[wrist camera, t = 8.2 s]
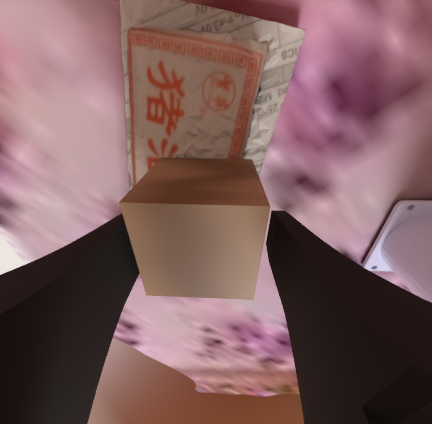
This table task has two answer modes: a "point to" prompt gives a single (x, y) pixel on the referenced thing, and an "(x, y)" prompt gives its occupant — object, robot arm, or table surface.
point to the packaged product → (201, 81)
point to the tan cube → (198, 227)
